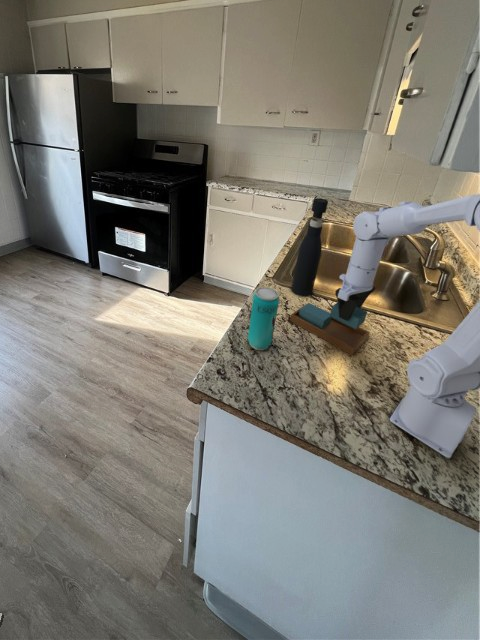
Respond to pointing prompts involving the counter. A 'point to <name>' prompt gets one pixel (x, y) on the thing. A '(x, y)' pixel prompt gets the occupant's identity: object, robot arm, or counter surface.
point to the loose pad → (354, 320)
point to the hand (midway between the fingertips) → (348, 314)
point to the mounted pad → (315, 316)
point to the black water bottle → (309, 252)
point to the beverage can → (263, 317)
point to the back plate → (335, 333)
